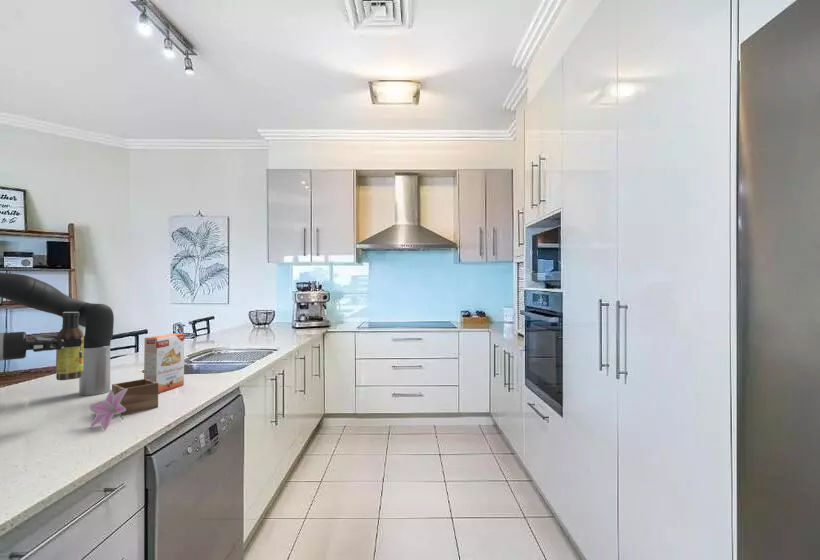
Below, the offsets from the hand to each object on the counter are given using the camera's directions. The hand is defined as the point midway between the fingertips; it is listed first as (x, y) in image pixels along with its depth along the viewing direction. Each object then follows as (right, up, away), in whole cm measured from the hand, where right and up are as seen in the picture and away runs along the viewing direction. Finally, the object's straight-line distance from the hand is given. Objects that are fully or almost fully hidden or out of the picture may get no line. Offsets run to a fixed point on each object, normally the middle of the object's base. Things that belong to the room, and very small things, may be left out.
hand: (80, 340), depth 122 cm
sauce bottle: (-2, -11, -2) cm, 11 cm away
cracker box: (+5, -24, +33) cm, 41 cm away
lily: (+12, -24, -4) cm, 27 cm away
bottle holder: (+10, -24, +10) cm, 27 cm away
